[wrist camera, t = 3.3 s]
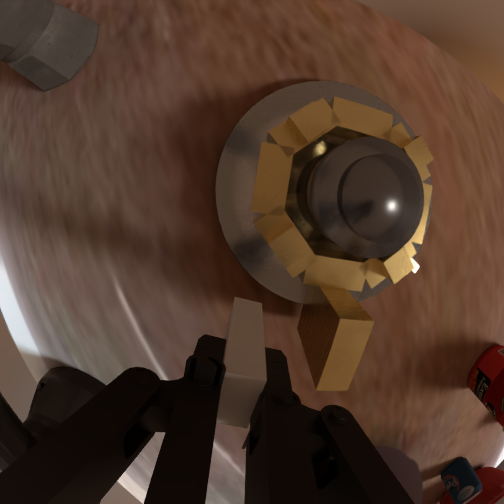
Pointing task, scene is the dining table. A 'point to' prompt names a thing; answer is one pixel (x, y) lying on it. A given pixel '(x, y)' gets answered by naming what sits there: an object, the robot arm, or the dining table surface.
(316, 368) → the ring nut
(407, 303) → the dining table surface
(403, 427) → the dining table surface
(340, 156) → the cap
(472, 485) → the soda can
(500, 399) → the canned food
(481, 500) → the mixing bowl
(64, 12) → the coffeepot
